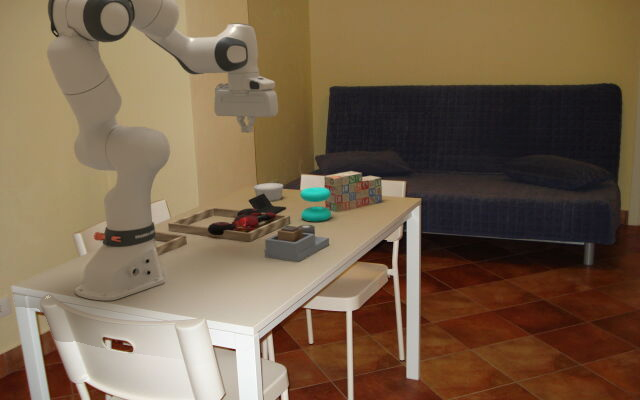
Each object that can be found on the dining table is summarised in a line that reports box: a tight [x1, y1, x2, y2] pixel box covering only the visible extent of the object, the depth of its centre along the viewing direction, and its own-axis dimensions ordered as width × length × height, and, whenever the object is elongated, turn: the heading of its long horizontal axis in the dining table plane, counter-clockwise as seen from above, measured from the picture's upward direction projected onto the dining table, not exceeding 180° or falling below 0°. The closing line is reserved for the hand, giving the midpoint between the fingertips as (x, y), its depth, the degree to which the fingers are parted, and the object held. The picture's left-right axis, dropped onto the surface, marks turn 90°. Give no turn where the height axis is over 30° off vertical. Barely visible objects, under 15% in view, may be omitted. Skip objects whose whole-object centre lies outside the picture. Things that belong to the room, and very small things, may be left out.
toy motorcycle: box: [208, 207, 276, 235], centre depth 210 cm, size 25×5×16 cm
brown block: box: [277, 225, 303, 242], centre depth 182 cm, size 5×5×6 cm
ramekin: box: [253, 182, 284, 202], centre depth 251 cm, size 11×11×5 cm
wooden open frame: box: [167, 206, 291, 243], centre depth 213 cm, size 23×32×2 cm
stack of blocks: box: [323, 170, 383, 213], centre depth 235 cm, size 21×6×12 cm, turn 125°
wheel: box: [297, 224, 316, 235], centre depth 189 cm, size 5×5×3 cm
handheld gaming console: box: [248, 193, 287, 214], centre depth 232 cm, size 12×7×10 cm
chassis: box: [263, 233, 330, 262], centre depth 185 cm, size 17×11×5 cm, turn 150°
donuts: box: [300, 186, 332, 223], centre depth 219 cm, size 10×10×10 cm
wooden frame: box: [154, 230, 188, 256], centre depth 195 cm, size 15×19×2 cm
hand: (247, 132), depth 187 cm, fingers closed
